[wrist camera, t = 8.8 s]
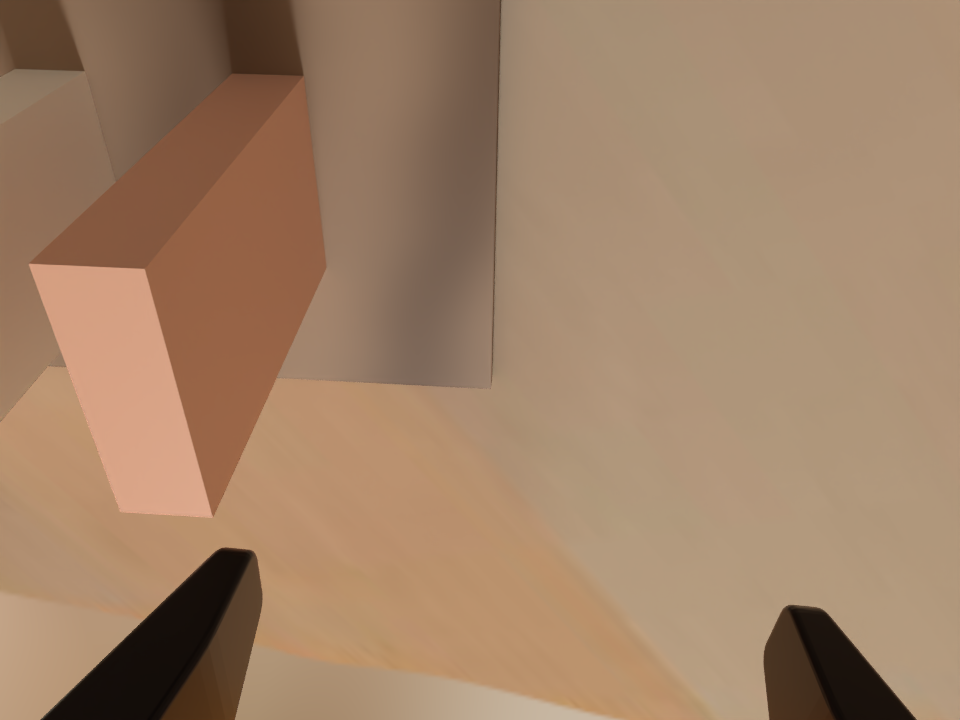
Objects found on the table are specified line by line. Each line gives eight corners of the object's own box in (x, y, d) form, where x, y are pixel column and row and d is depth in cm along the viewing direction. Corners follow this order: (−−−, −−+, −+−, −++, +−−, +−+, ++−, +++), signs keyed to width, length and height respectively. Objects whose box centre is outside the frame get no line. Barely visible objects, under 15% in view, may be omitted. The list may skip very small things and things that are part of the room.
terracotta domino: (264, 264, 20) (120, 512, 14) (232, 73, 18) (28, 263, 11) (326, 267, 20) (213, 517, 13) (303, 75, 17) (144, 269, 11)
